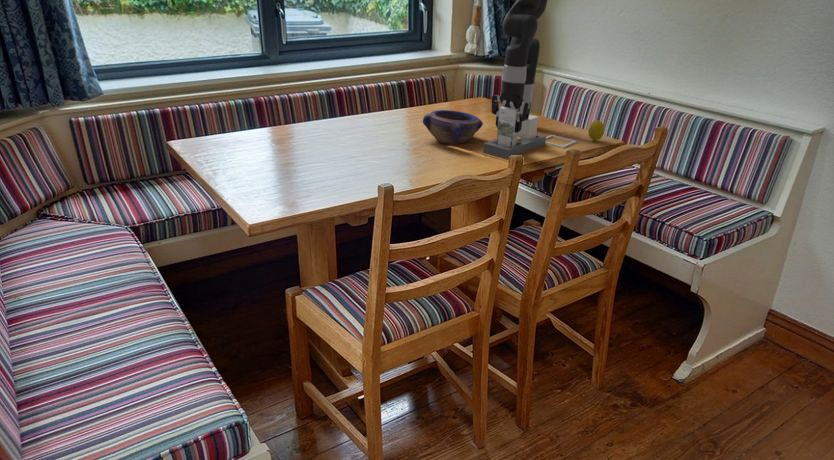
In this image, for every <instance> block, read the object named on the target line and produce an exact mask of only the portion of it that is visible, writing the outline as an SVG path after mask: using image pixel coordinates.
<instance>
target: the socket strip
mask: <svg viewBox="0 0 834 460" xmlns="http://www.w3.org/2000/svg"><path fill="white" fill-rule="evenodd" d="M546 137H547V135H543V134H541V133H540V134H539V133H536V138H535V139H532V140H530V141H528V140H524V139H521V137H517V143H516V146H514V147H511V148H508V147H504V146H501V145H497V144H496V139H497V138H494V139H492V140H489V141H486V142H484V143H483V149H482V150H483V151H482V152H483V153H485V154H483V153H482V155H483V156H486V157H490V158H493V159H496V160H501V161H503V162H506V163H509V161H507V160H509V159H508V158H509V156H511V155H518V156H521V155H523V154H526V153H528V152H530V151H532V150H535V149H538V148H540V147H542V146H545V145H546V144H545V141H546V142H547V139H546ZM487 154H488V155H487ZM489 155H492V156H489ZM493 156H495V157H493ZM496 157H497V158H496ZM498 157H500V158H498ZM501 158H503V159H501ZM504 159H505V160H504Z"/></svg>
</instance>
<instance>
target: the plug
mask: <svg viewBox="0 0 834 460" xmlns="http://www.w3.org/2000/svg"><path fill="white" fill-rule="evenodd" d="M538 123H539V116H538V115H537V116H536V115H533V114H530V115H529V118H528V120H525V121H522V127H521V131H519V132H518V133H517V137H521V139H524V140H528V141H530V140H532V139H535V138H536V134H537V131H538Z"/></svg>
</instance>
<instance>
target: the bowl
mask: <svg viewBox="0 0 834 460" xmlns="http://www.w3.org/2000/svg"><path fill="white" fill-rule="evenodd" d="M422 123H423V125H424V126H425V127H426V129H427V130H428V131H429V133H430V134H431V135H432V137H434V138H435V139H436V141H437V142H439V143H440V144H444V145H450V146H451V145H453V144H454V145H455V144H463V143H467V141H470V140H471V139H472V138H473V137H474V135H475V134H476V133H477V132H478V131H479V130H480V129H481V128H482V126H484V122H483V121H482V120H481V119H480V118H479V117H477V116H475V115H473V114H471V113H467V112H464V111H459V110H458V111H457V110H451V109H450V110H449V109H440V110H438V109H437V110H434V111H431V112H430V113H427V114H425V115H423V118H422Z"/></svg>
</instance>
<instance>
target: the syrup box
mask: <svg viewBox="0 0 834 460" xmlns="http://www.w3.org/2000/svg"><path fill="white" fill-rule="evenodd" d="M500 106H501V105H500ZM500 106H499V107H500ZM516 112H519V109H516V110H514V109H512V108H509V107H503V106H501V107H500V110H499V120H498V128H497V130H496V131H497V132H496V138H495V139H496V144H497V145H501V146H504V147H508V148H511V147H514V146H516V143H517V133H515V123H516Z"/></svg>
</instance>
